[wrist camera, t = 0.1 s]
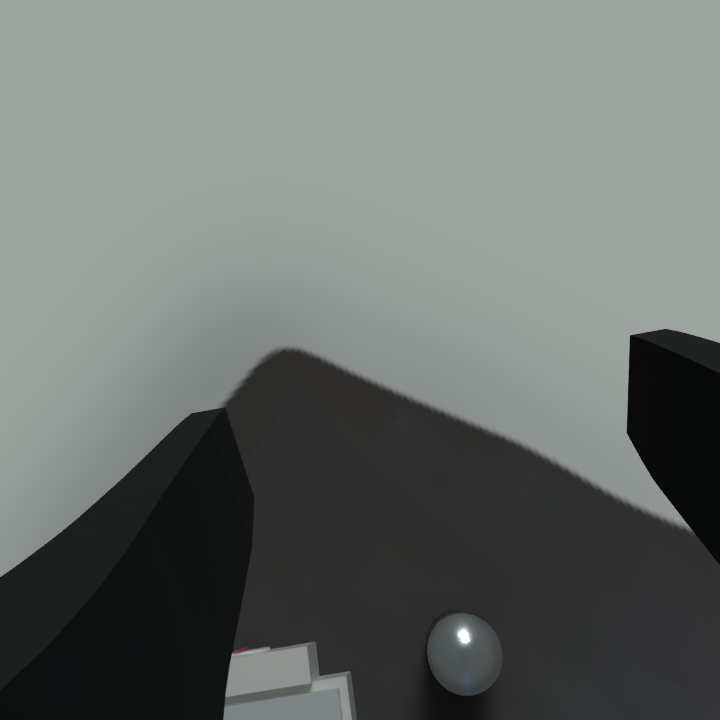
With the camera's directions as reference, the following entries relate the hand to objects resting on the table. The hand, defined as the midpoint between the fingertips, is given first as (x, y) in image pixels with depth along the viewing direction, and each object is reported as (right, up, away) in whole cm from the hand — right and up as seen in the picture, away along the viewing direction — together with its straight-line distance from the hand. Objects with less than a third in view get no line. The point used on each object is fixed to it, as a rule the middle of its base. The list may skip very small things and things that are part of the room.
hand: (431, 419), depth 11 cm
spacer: (+5, -17, +27) cm, 33 cm away
